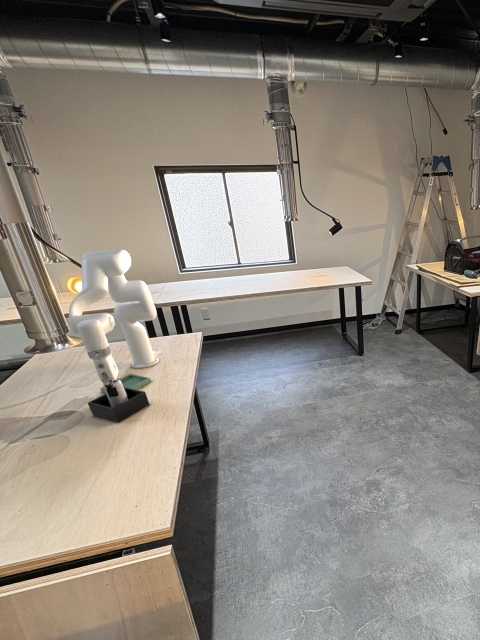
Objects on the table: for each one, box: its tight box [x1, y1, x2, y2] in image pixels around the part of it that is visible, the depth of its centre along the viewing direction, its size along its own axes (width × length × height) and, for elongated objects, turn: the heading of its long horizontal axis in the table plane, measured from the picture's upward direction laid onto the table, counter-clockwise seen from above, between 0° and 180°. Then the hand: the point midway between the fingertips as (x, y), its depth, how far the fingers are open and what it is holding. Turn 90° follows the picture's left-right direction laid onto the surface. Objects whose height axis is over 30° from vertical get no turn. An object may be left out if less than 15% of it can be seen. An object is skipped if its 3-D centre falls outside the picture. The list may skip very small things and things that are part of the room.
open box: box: [87, 387, 151, 424], centre depth 168 cm, size 15×15×6 cm
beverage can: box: [102, 377, 128, 408], centre depth 166 cm, size 6×6×12 cm
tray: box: [99, 373, 152, 394], centre depth 188 cm, size 15×13×2 cm
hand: (115, 391), depth 166 cm, fingers closed on beverage can, 6 cm apart
